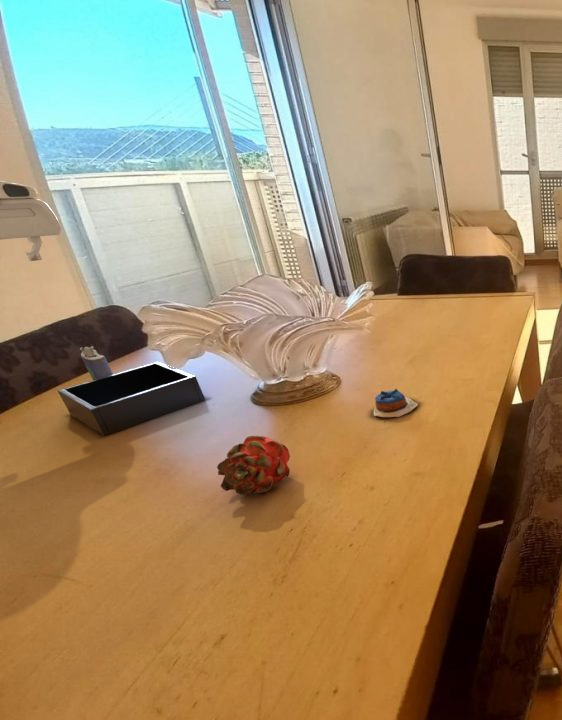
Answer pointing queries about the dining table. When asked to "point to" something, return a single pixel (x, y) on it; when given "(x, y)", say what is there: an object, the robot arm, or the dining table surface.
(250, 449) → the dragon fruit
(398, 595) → the dining table surface
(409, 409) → the dessert
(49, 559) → the dining table surface
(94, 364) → the flask
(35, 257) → the robot arm
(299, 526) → the dining table surface
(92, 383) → the basin
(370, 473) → the dining table surface
